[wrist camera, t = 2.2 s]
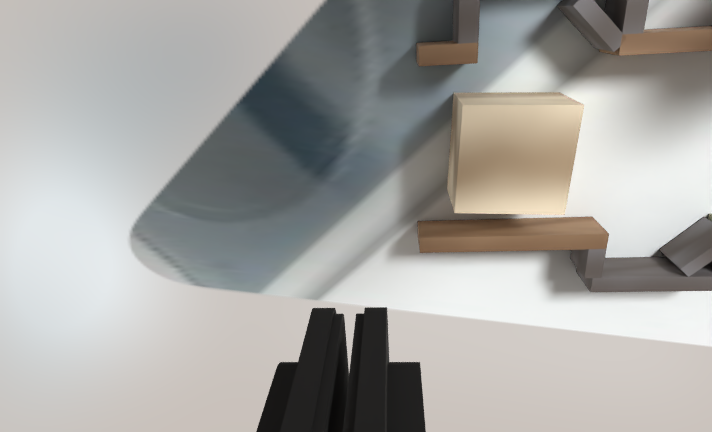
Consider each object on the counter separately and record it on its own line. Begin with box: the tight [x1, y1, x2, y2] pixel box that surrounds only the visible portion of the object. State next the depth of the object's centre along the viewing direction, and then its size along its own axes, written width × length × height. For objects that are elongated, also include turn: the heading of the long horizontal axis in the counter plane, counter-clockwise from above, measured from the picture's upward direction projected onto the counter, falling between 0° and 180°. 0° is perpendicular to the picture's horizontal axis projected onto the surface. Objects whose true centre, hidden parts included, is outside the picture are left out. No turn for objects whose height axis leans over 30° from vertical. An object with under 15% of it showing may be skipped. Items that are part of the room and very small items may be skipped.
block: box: [447, 93, 584, 215], centre depth 27 cm, size 6×6×4 cm
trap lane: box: [416, 0, 712, 292], centre depth 26 cm, size 19×29×3 cm, turn 93°
